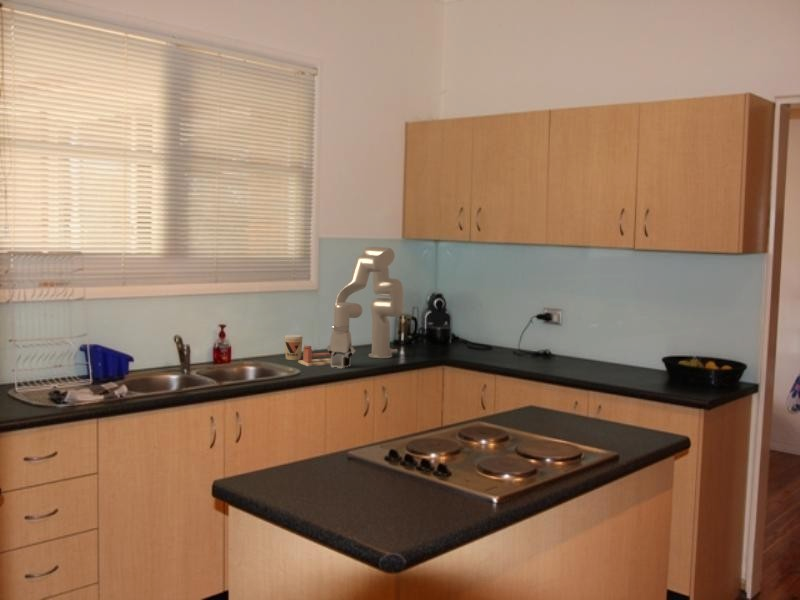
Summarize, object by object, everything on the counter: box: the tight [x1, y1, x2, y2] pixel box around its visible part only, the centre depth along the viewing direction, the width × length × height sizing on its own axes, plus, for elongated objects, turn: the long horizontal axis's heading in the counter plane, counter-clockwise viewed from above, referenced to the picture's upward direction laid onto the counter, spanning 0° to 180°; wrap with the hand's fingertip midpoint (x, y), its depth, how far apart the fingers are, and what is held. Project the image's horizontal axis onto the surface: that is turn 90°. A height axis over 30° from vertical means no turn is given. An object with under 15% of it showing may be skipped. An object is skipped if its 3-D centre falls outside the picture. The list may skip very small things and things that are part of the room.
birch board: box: [297, 357, 331, 367], centre depth 421 cm, size 23×12×1 cm, turn 120°
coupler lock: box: [330, 353, 352, 369], centre depth 412 cm, size 8×7×5 cm
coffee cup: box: [284, 334, 304, 361], centre depth 430 cm, size 9×9×12 cm
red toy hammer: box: [302, 345, 331, 363], centre depth 419 cm, size 14×6×8 cm, turn 120°
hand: (340, 364), depth 412 cm, fingers closed on coupler lock, 6 cm apart
